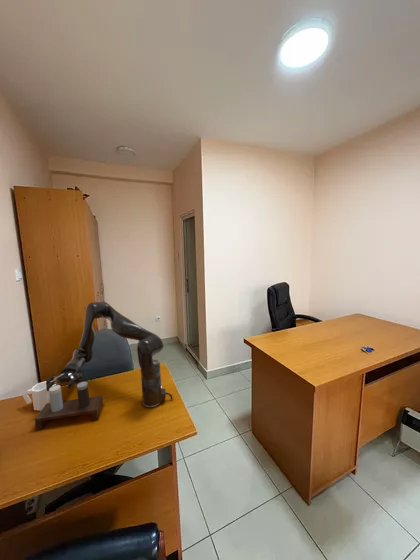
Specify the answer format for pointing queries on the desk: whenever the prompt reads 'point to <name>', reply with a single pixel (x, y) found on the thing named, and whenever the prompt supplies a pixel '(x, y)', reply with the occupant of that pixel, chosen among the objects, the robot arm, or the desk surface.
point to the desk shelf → (69, 410)
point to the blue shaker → (56, 398)
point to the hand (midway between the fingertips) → (58, 387)
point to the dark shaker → (83, 394)
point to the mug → (38, 396)
